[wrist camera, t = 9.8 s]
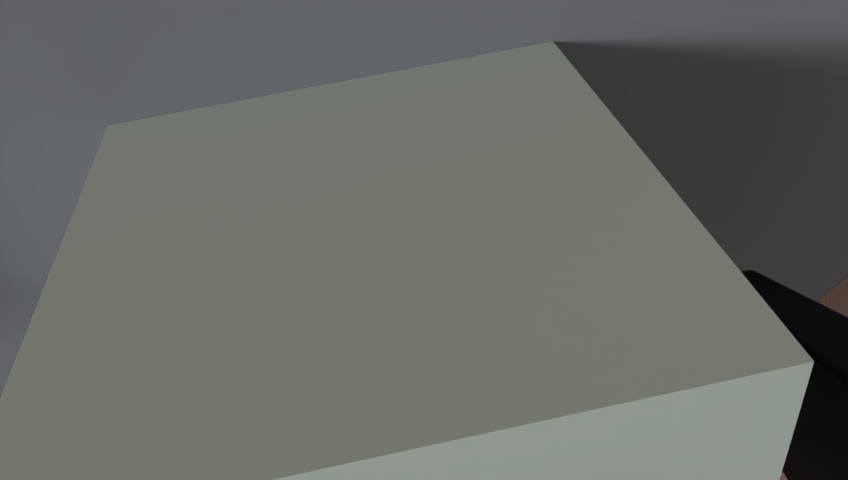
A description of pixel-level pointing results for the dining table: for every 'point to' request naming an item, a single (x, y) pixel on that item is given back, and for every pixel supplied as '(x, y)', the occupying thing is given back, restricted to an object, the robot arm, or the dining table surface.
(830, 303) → the dining table surface
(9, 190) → the mat
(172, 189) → the cube
